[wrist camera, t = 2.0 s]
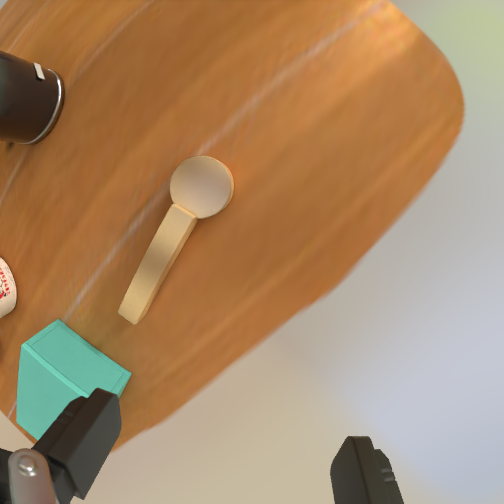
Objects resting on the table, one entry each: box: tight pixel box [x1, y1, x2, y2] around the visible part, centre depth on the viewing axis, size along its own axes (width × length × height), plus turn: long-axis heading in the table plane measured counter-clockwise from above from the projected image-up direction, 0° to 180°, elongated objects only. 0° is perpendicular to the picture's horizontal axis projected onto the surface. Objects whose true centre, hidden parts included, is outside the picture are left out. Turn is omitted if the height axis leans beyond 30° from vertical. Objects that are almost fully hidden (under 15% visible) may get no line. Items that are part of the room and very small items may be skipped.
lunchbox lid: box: [17, 342, 90, 440], centre depth 26 cm, size 18×12×1 cm, turn 148°
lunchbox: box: [26, 319, 132, 398], centre depth 30 cm, size 18×12×7 cm, turn 148°
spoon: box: [117, 155, 234, 325], centre depth 26 cm, size 17×5×3 cm, turn 148°
